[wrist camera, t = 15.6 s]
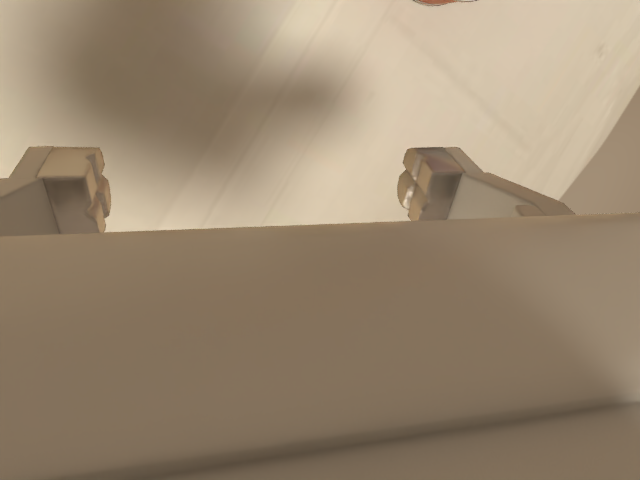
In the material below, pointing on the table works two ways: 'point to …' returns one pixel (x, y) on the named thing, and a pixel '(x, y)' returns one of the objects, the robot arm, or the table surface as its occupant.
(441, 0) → the food tin
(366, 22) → the table surface
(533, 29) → the table surface
